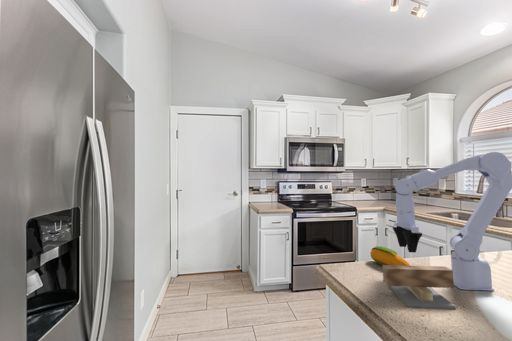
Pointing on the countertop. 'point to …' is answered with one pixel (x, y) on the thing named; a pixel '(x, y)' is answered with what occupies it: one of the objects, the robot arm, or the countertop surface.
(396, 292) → the board
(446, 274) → the brown wooden block
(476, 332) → the countertop surface
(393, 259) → the corn
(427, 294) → the ridge
